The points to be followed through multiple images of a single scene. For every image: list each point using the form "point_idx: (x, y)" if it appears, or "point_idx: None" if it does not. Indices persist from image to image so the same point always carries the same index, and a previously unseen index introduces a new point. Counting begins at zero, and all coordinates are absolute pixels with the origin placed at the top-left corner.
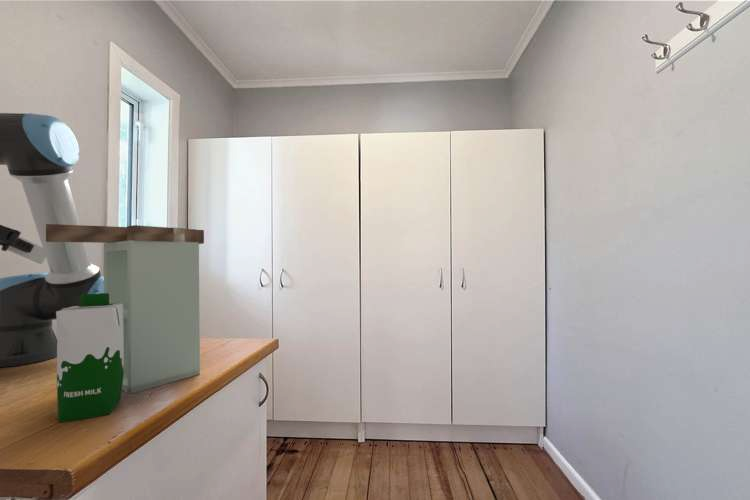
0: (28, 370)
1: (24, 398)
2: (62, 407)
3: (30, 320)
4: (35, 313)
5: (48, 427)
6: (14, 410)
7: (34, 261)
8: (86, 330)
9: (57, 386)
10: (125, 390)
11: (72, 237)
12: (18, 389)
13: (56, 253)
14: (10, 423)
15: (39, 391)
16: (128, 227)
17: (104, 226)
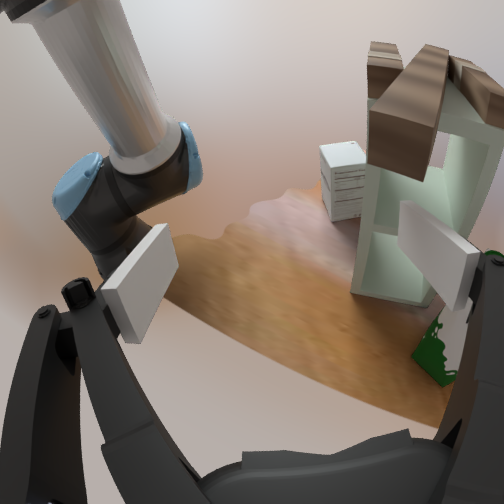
0: (182, 285)
1: (312, 360)
2: (452, 381)
3: (124, 225)
4: (127, 217)
5: (444, 397)
6: (351, 389)
7: (404, 251)
8: None
9: (447, 374)
10: (413, 304)
11: (434, 138)
12: (260, 340)
13: (132, 125)
14: (394, 410)
15: (300, 338)
16: (494, 96)
17: (443, 83)
